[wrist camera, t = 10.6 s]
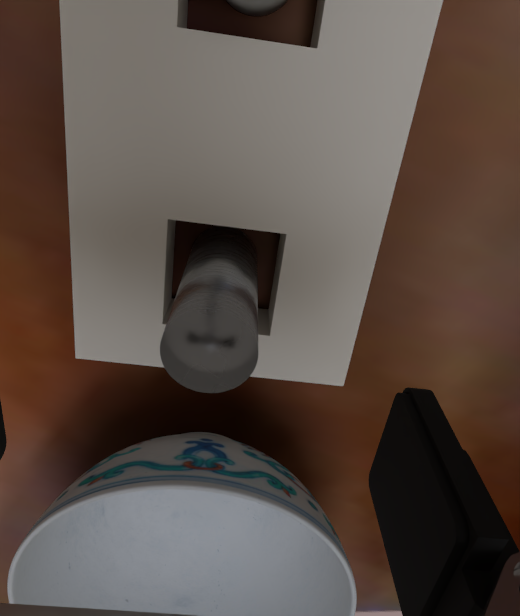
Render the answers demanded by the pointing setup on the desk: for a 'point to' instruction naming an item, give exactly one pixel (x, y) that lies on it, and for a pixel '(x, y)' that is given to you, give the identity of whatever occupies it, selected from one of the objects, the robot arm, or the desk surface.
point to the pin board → (235, 164)
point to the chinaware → (186, 537)
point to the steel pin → (214, 314)
